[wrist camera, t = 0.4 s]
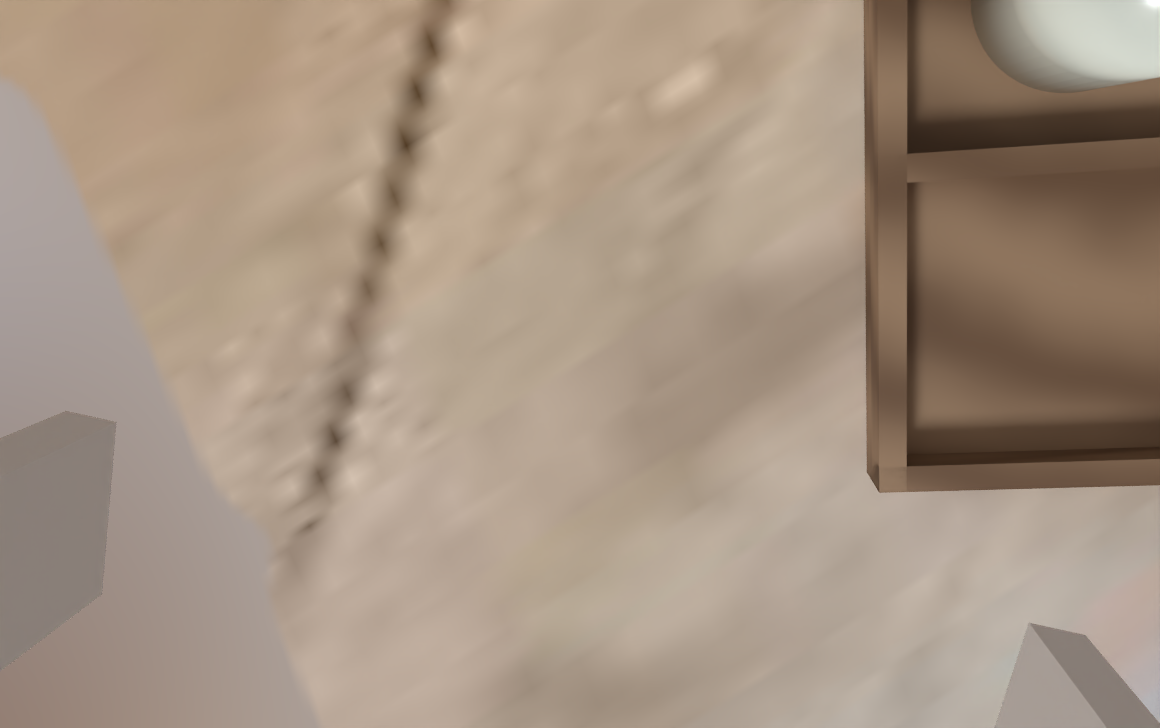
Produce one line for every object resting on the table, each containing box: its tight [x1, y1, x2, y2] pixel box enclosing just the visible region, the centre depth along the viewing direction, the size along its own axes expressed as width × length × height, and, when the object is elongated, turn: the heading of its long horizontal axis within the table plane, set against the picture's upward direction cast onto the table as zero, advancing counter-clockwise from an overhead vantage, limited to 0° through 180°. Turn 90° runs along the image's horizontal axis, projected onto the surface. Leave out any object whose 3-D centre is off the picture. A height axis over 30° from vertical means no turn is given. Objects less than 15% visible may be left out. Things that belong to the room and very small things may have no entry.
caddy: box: [864, 0, 1160, 493], centre depth 35 cm, size 24×14×2 cm, turn 4°
